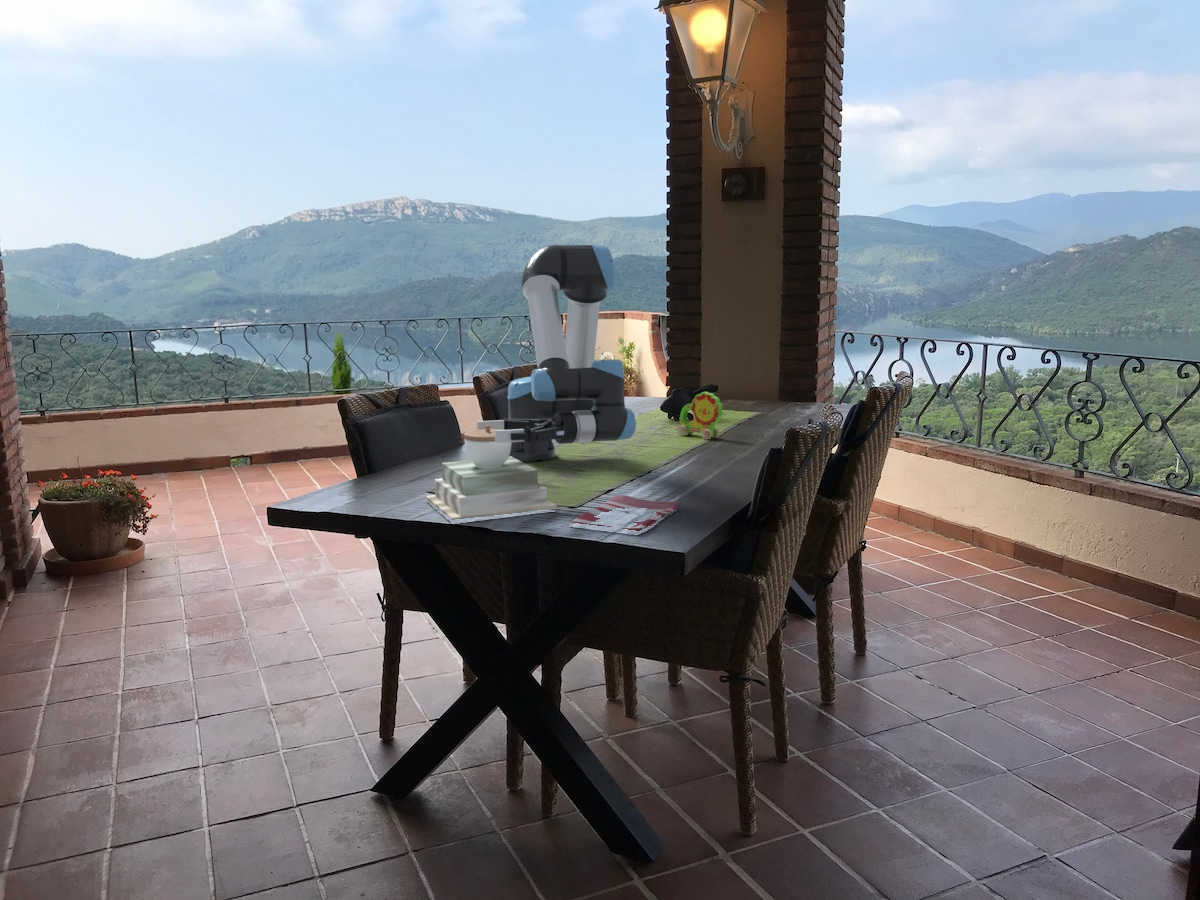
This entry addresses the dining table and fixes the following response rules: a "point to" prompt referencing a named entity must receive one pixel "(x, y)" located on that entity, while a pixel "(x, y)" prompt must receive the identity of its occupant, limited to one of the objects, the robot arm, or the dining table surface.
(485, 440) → the lidded jar
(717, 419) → the toy lion
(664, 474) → the dining table surface
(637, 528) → the dish towel
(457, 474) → the brick tower
